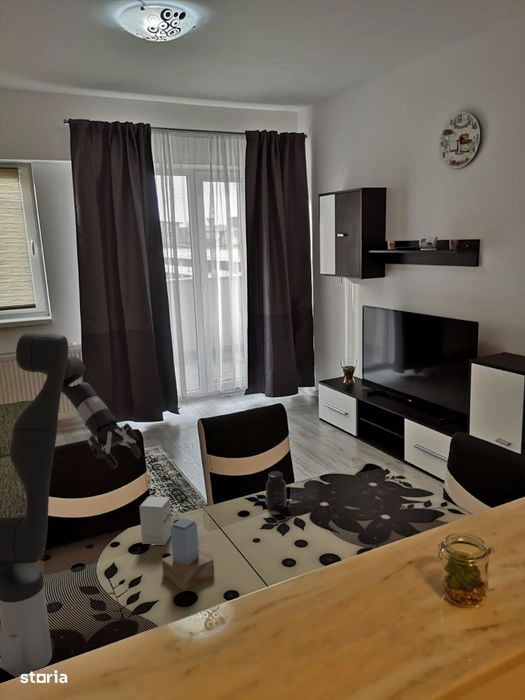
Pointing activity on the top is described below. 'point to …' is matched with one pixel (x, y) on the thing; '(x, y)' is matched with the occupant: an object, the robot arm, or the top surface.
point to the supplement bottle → (276, 491)
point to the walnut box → (188, 570)
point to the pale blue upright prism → (184, 541)
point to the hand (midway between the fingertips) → (128, 461)
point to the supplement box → (155, 520)
